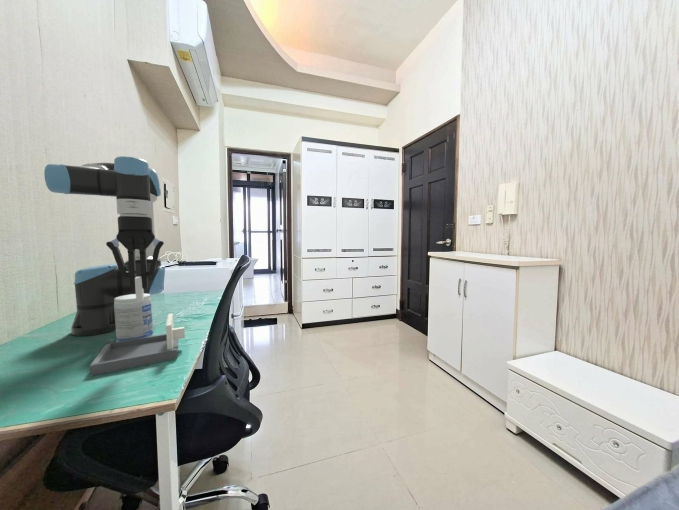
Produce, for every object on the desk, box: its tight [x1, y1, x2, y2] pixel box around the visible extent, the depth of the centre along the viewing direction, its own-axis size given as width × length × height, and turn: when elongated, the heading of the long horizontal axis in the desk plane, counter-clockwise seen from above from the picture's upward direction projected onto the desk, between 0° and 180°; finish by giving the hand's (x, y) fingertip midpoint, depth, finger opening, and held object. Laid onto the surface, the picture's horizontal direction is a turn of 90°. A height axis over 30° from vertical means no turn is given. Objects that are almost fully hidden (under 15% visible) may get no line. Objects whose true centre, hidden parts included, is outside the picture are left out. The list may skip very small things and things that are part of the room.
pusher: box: [165, 313, 186, 350], centre depth 80 cm, size 13×4×8 cm, turn 30°
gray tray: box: [89, 333, 179, 377], centre depth 76 cm, size 16×18×2 cm
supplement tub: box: [114, 293, 154, 342], centre depth 86 cm, size 10×10×15 cm
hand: (140, 299), depth 76 cm, fingers closed
